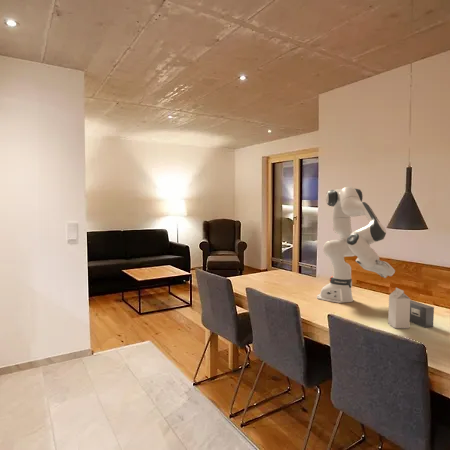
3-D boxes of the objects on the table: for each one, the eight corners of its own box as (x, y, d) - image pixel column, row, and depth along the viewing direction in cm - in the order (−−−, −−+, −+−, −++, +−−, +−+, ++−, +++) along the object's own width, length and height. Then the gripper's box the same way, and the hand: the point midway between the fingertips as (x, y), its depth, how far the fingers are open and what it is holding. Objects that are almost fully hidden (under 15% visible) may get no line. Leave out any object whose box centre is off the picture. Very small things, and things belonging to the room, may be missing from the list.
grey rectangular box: (390, 314, 191) (391, 296, 190) (398, 313, 192) (399, 296, 192) (424, 327, 170) (425, 308, 169) (433, 326, 171) (433, 307, 171)
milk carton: (401, 323, 176) (402, 287, 175) (409, 328, 169) (410, 290, 168) (388, 323, 176) (389, 287, 175) (395, 328, 169) (396, 290, 168)
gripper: (388, 257, 167) (403, 275, 171) (360, 252, 187) (374, 268, 190) (381, 266, 166) (396, 285, 170) (353, 260, 186) (367, 277, 189)
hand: (384, 276), depth 180 cm, fingers closed
